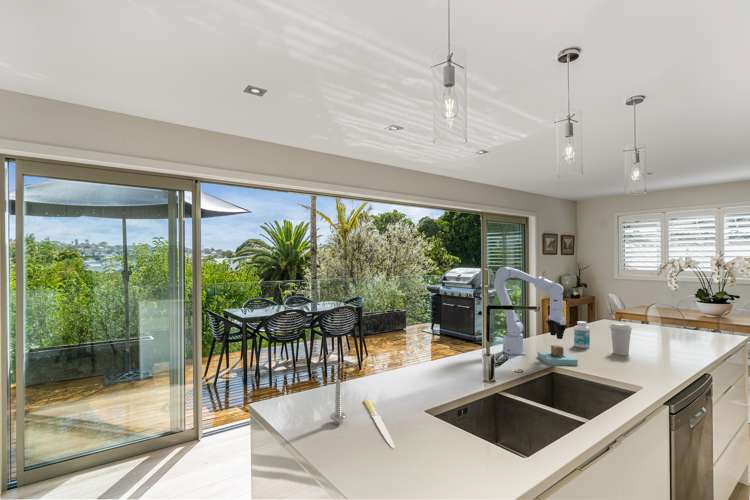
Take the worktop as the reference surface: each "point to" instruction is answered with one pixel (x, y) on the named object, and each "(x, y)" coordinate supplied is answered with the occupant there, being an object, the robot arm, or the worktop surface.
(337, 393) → the screw
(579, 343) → the pill bottle
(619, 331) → the coffee cup
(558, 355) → the walnut peg
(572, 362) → the socket plate
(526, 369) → the worktop surface
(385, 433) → the knife
